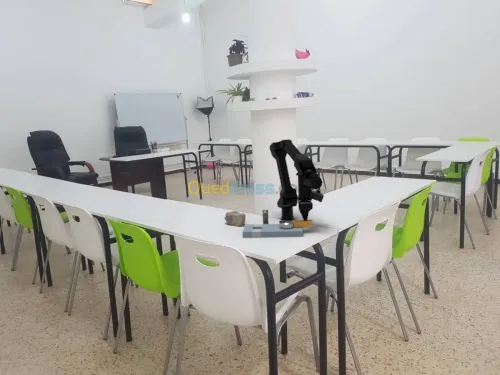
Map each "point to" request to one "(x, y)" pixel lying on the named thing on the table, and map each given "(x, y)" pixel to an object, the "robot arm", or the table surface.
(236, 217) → the mineral specimen
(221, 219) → the table surface
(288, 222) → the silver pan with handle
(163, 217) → the table surface
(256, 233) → the plate
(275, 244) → the table surface
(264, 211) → the pin
